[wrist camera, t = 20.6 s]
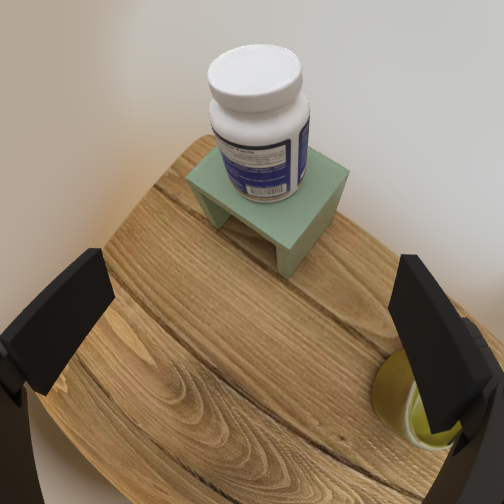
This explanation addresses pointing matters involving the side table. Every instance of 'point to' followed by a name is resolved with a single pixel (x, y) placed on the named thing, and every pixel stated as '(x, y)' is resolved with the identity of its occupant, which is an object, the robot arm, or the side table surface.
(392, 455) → the side table surface
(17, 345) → the robot arm
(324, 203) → the shelf
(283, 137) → the pill bottle
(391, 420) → the mug
